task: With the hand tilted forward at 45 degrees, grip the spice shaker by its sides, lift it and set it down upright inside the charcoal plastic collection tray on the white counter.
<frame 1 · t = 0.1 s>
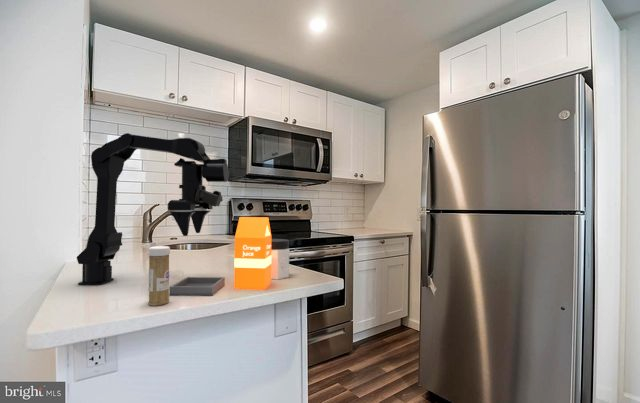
hand: (192, 234, 95), 15 cm above the table, tool pointing down, fingers open, 9 cm apart
tray: (198, 289, 88), on the table
jar: (276, 277, 105), on the table
orange juice: (253, 286, 93), on the table
spice shaker: (158, 304, 76), on the table
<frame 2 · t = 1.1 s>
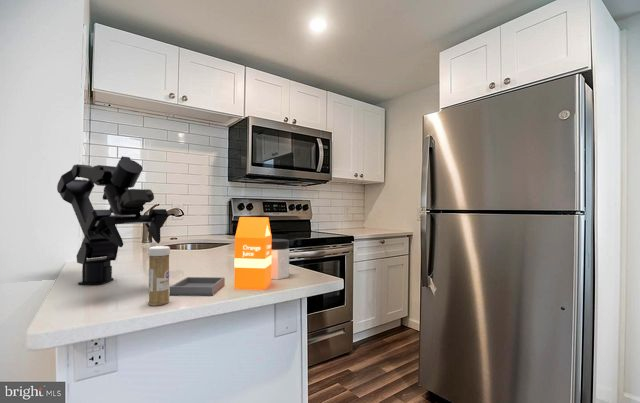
hand: (141, 244, 81), 13 cm above the table, tool tilted 45°, fingers open, 9 cm apart
nothing on the table moved.
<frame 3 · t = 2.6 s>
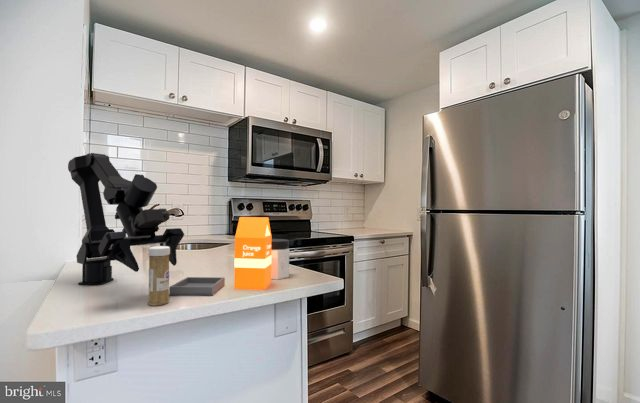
hand: (157, 267, 77), 8 cm above the table, tool tilted 45°, fingers open, 9 cm apart
nothing on the table moved.
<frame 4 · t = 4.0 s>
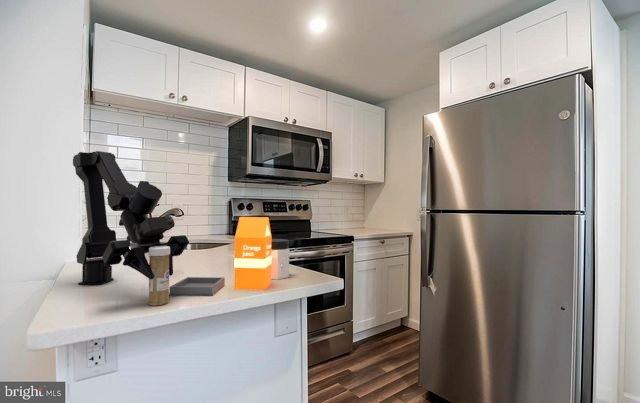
hand: (162, 276, 75), 7 cm above the table, tool tilted 45°, fingers closed on spice shaker, 4 cm apart
spice shaker: (158, 304, 76), on the table, touching gripper
everything else where it was.
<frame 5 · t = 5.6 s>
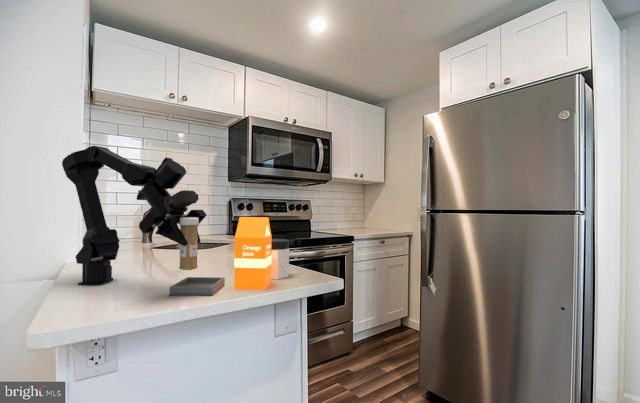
hand: (192, 243, 84), 13 cm above the table, tool tilted 45°, fingers closed on spice shaker, 4 cm apart
spice shaker: (188, 269, 84), point 6 cm above the table, touching gripper
everything else where it was.
when the fingers open (8 cm above the table, at t = 7.3 s): spice shaker drops 1 cm, resting on tray.
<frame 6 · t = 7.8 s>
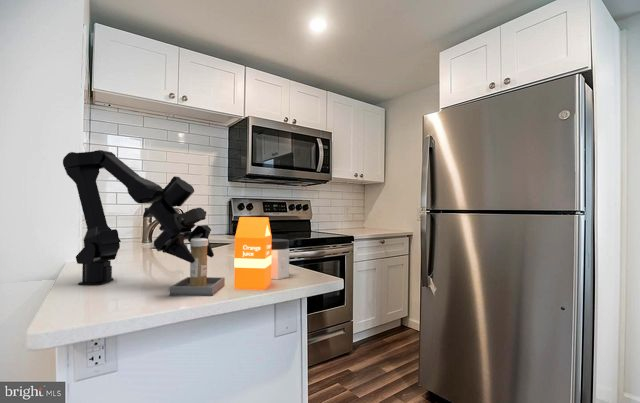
hand: (203, 259, 88), 9 cm above the table, tool tilted 45°, fingers open, 9 cm apart
spice shaker: (198, 288, 88), resting on tray
everything else where it was.
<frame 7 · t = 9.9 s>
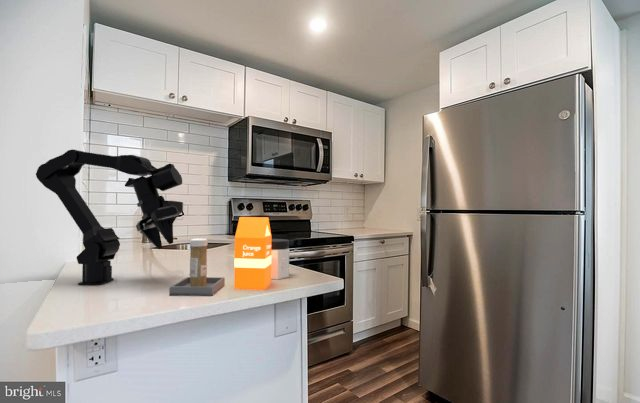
hand: (165, 246, 95), 11 cm above the table, tool tilted 20°, fingers open, 9 cm apart
nothing on the table moved.
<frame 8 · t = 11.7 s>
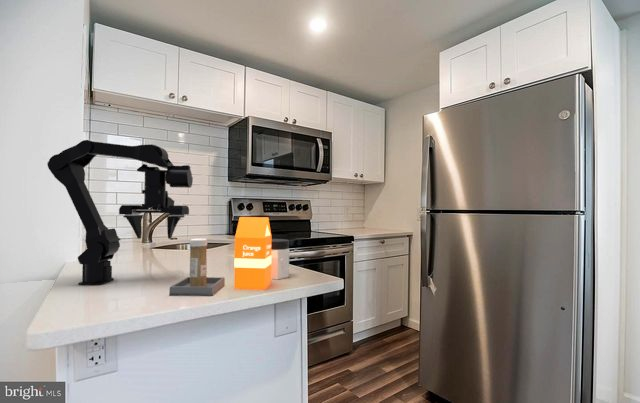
hand: (154, 238, 97), 13 cm above the table, tool pointing down, fingers open, 9 cm apart
nothing on the table moved.
at the end: spice shaker inside the target area on the tray (0.2 cm from its centre), point 0.4 cm above the tray's base; spice shaker tilted 0°; the gripper is holding nothing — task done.
